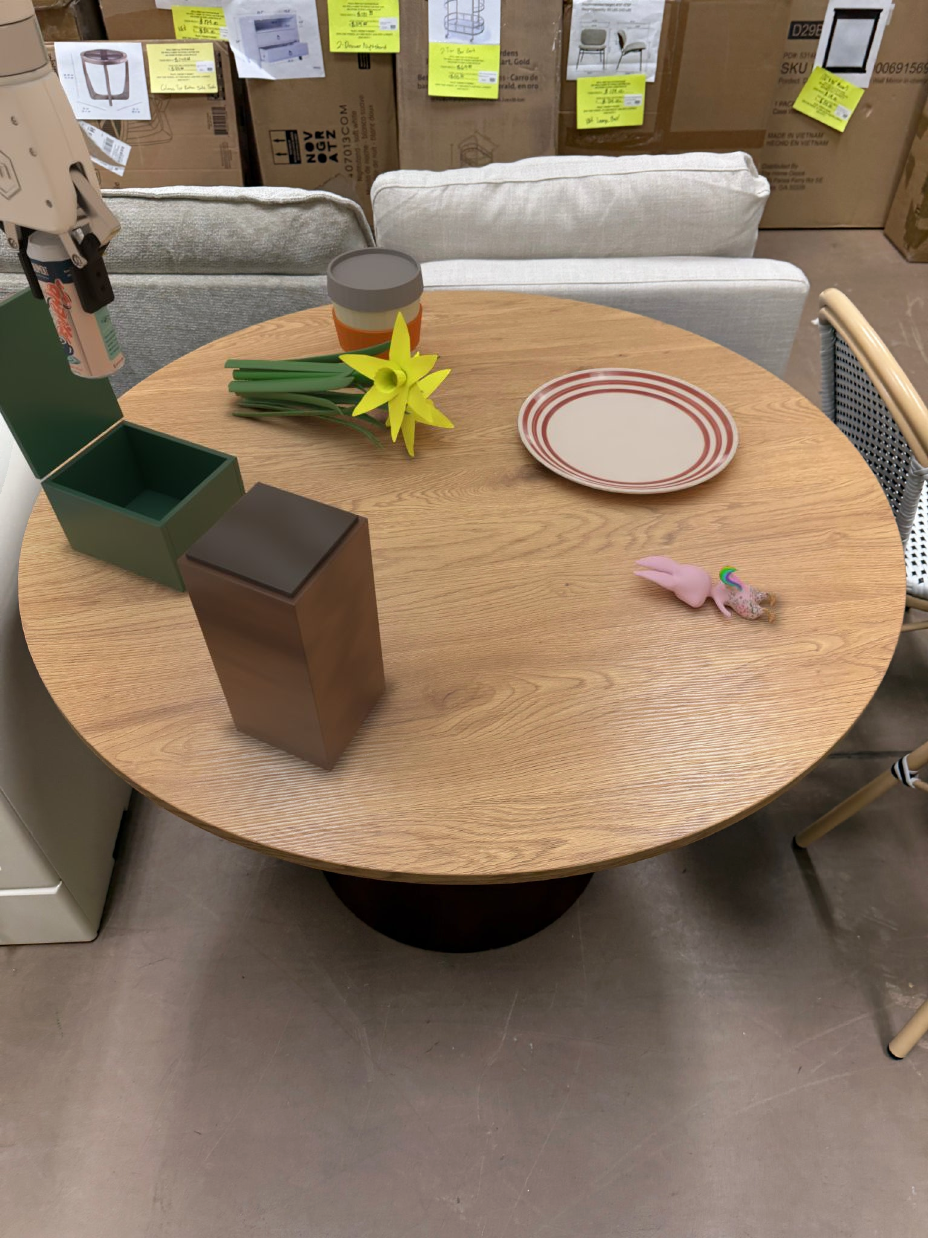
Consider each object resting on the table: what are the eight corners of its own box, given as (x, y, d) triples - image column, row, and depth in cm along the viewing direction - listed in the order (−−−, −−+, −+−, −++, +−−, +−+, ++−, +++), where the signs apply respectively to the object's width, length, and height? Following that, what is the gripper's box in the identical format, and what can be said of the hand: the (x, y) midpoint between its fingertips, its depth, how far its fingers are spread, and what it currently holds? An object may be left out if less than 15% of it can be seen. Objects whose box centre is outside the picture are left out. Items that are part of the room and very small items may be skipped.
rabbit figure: (765, 602, 88) (633, 558, 89) (792, 565, 83) (651, 519, 84) (763, 645, 84) (624, 598, 85) (790, 608, 79) (643, 559, 80)
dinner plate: (473, 430, 106) (473, 408, 103) (623, 363, 117) (626, 342, 115) (622, 545, 92) (627, 523, 89) (777, 456, 103) (785, 434, 100)
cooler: (253, 525, 93) (237, 456, 86) (185, 596, 86) (160, 527, 79) (147, 487, 98) (123, 419, 90) (73, 552, 90) (39, 482, 83)
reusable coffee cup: (324, 362, 117) (310, 257, 106) (403, 341, 121) (397, 238, 110) (358, 406, 109) (347, 299, 98) (441, 382, 113) (440, 277, 102)
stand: (331, 775, 72) (293, 600, 55) (237, 733, 74) (174, 555, 58) (386, 692, 78) (367, 512, 61) (298, 657, 80) (256, 475, 64)
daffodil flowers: (293, 369, 117) (509, 370, 100) (262, 463, 114) (479, 481, 98) (211, 298, 102) (447, 285, 85) (173, 404, 100) (409, 412, 83)
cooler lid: (63, 270, 78) (26, 263, 80) (-40, 329, 71) (-79, 320, 72) (124, 416, 90) (90, 408, 92) (41, 480, 82) (6, 469, 84)
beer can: (69, 361, 76) (19, 229, 67) (121, 351, 77) (80, 220, 69) (75, 386, 73) (24, 252, 64) (130, 375, 74) (88, 242, 66)
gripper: (-144, 45, 57) (-32, 296, 70) (39, 78, 52) (122, 341, 66) (-56, 23, 62) (34, 263, 75) (119, 51, 57) (182, 302, 70)
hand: (74, 297), depth 70 cm, fingers closed on beer can, 4 cm apart
